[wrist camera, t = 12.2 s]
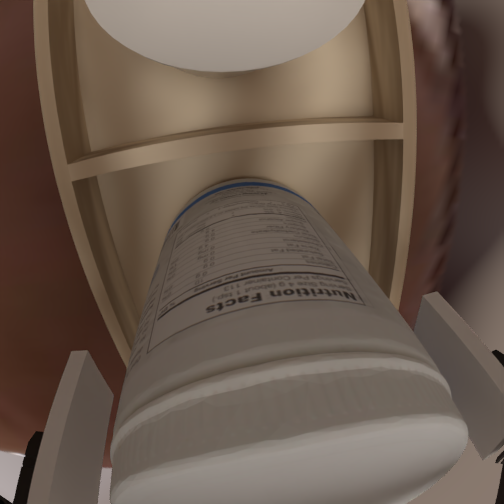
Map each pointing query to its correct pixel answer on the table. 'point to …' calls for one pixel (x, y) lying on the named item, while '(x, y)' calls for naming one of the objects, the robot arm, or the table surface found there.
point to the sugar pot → (223, 31)
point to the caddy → (225, 144)
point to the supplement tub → (275, 368)
